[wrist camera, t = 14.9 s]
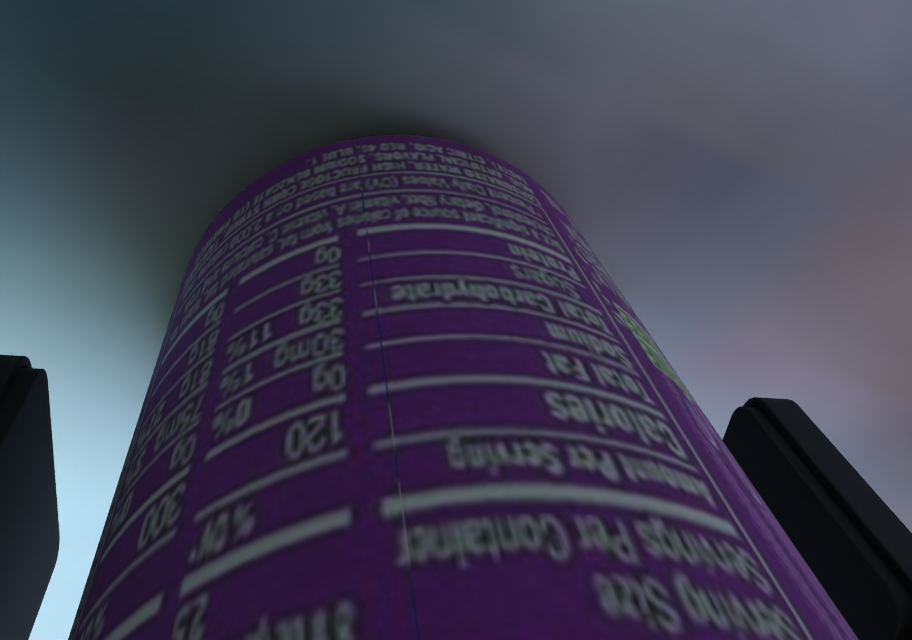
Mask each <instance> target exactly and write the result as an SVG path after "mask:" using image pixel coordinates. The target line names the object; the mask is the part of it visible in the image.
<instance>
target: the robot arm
mask: <svg viewBox="0 0 912 640" xmlns="http://www.w3.org/2000/svg"><path fill="white" fill-rule="evenodd" d="M722 441H723V442H724V444H725V445H726V447H727V448H728V449H729V451H730V452H731V454H732V455H733V457H734V458H735V460H736V461H737V463H738V464H739V466H740V467H741V468H742V470H743V471H744V473H745V474H746V476H747V477H748V479H749V480H750V482H751V483H752V484H753V486H754V487H755V489H756V490H757V492H758V493H759V495H760V496H761V498H762V499H763V501H764V502H765V503H766V505H767V506H768V508H769V509H770V511H771V512H772V514H773V515H774V517H775V518H776V519H777V521H778V522H779V524H780V525H781V527H782V528H783V530H784V531H785V533H786V534H787V535H788V537H789V538H790V540H791V541H792V543H793V544H794V546H795V547H796V549H797V550H798V552H799V553H800V554H801V556H802V557H803V559H804V560H805V562H806V563H807V565H808V566H809V568H810V569H811V570H812V572H813V573H814V575H815V576H816V578H817V579H818V581H819V582H820V584H821V585H822V586H823V588H824V589H825V591H826V592H827V594H828V595H829V597H830V598H831V600H832V601H833V603H834V604H835V605H836V607H837V608H838V610H839V611H840V613H841V614H842V616H843V617H844V619H845V620H846V621H847V623H848V624H849V626H850V627H851V629H852V630H853V632H854V633H855V635H856V636H857V637H858V639H859V640H912V533H911V532H910V531H909V530H908V529H907V528H906V527H905V525H904V524H903V523H902V522H901V521H900V520H899V519H898V517H897V516H896V515H895V514H894V513H893V512H892V511H891V510H890V508H889V507H888V506H887V505H886V504H885V503H884V502H883V501H882V499H881V498H880V497H879V496H878V495H877V494H876V493H875V492H874V490H873V489H872V488H871V487H870V486H869V485H868V484H867V482H866V481H865V480H864V479H863V478H862V477H861V476H860V475H859V473H858V472H857V471H856V470H855V469H854V468H853V467H852V466H851V464H850V463H849V462H848V461H847V460H846V459H845V458H844V457H843V455H842V454H841V453H840V452H839V451H838V450H837V449H836V447H835V446H834V445H833V444H832V443H831V442H830V441H829V440H828V438H827V437H826V436H825V435H824V434H823V433H822V432H821V431H820V429H819V428H818V427H817V426H816V425H815V424H814V423H813V422H812V420H811V419H810V418H809V417H808V416H807V415H806V414H805V412H804V411H803V410H802V409H801V408H800V407H799V406H798V405H797V404H796V403H795V402H794V401H792V400H788V399H773V398H756V397H754V398H751V399H749V400H748V401H747V402H746V403H745V404H744V406H743V407H738V408H737V409H736V410H735V411H734V413H733V414H732V417H731V419H730V422H729V425H728V427H727V430H726V433H725V435H724V438H723V440H722ZM58 550H59V522H58V509H57V496H56V483H55V470H54V456H53V443H52V430H51V417H50V404H49V391H48V379H47V374H46V371H45V370H44V369H34V368H31V363H30V361H29V359H28V358H27V357H26V356H13V355H0V640H28V639H29V636H30V633H31V631H32V628H33V625H34V622H35V620H36V617H37V614H38V611H39V609H40V606H41V603H42V600H43V598H44V595H45V592H46V589H47V587H48V584H49V581H50V579H51V576H52V573H53V570H54V568H55V564H56V561H57V556H58Z"/></svg>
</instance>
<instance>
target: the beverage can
mask: <svg viewBox="0 0 912 640" xmlns="http://www.w3.org/2000/svg"><path fill="white" fill-rule="evenodd" d="M68 640H859V639H858V637H857V636H856V635H855V633H854V632H853V630H852V629H851V627H850V626H849V624H848V623H847V621H846V620H845V619H844V617H843V616H842V614H841V613H840V611H839V610H838V608H837V607H836V605H835V604H834V603H833V601H832V600H831V598H830V597H829V595H828V594H827V592H826V591H825V589H824V588H823V586H822V585H821V584H820V582H819V581H818V579H817V578H816V576H815V575H814V573H813V572H812V570H811V569H810V568H809V566H808V565H807V563H806V562H805V560H804V559H803V557H802V556H801V554H800V553H799V552H798V550H797V549H796V547H795V546H794V544H793V543H792V541H791V540H790V538H789V537H788V535H787V534H786V533H785V531H784V530H783V528H782V527H781V525H780V524H779V522H778V521H777V519H776V518H775V517H774V515H773V514H772V512H771V511H770V509H769V508H768V506H767V505H766V503H765V502H764V501H763V499H762V498H761V496H760V495H759V493H758V492H757V490H756V489H755V487H754V486H753V484H752V483H751V482H750V480H749V479H748V477H747V476H746V474H745V473H744V471H743V470H742V468H741V467H740V466H739V464H738V463H737V461H736V460H735V458H734V457H733V455H732V454H731V452H730V451H729V449H728V448H727V447H726V445H725V444H724V442H723V441H722V439H721V438H720V436H719V435H718V433H717V432H716V431H715V429H714V428H713V426H712V425H711V423H710V422H709V420H708V419H707V417H706V416H705V415H704V413H703V412H702V410H701V409H700V407H699V406H698V404H697V403H696V401H695V400H694V398H693V397H692V396H691V394H690V393H689V391H688V390H687V388H686V387H685V385H684V384H683V382H682V381H681V380H680V378H679V377H678V375H677V374H676V372H675V371H674V369H673V368H672V366H671V365H670V364H669V362H668V361H667V359H666V358H665V356H664V355H663V353H662V352H661V350H660V349H659V347H658V346H657V345H656V343H655V342H654V340H653V339H652V337H651V336H650V334H649V333H648V331H647V330H646V329H645V327H644V326H643V324H642V323H641V321H640V320H639V318H638V317H637V315H636V314H635V313H634V311H633V310H632V308H631V307H630V305H629V304H628V302H627V301H626V299H625V298H624V296H623V295H622V294H621V292H620V291H619V289H618V288H617V286H616V285H615V283H614V282H613V280H612V279H611V278H610V276H609V275H608V273H607V272H606V270H605V269H604V267H603V266H602V264H601V263H600V261H599V260H598V259H597V257H596V256H595V254H594V253H593V251H592V250H591V248H590V247H589V245H588V244H587V243H586V241H585V240H584V238H583V237H582V235H581V234H580V232H579V231H578V229H577V228H576V227H575V225H574V224H573V222H572V221H571V219H570V218H569V217H568V215H567V214H566V213H565V211H564V210H563V209H562V207H561V206H560V205H559V204H558V203H557V202H556V201H555V200H554V198H553V197H552V196H551V195H550V194H549V193H548V192H546V191H545V190H544V189H543V188H542V187H541V186H540V185H539V184H538V183H536V182H535V181H534V180H532V179H531V178H530V177H529V176H527V175H526V174H524V173H523V172H521V171H520V170H518V169H517V168H515V167H514V166H512V165H510V164H508V163H507V162H505V161H503V160H501V159H499V158H497V157H495V156H493V155H491V154H488V153H486V152H484V151H481V150H478V149H476V148H473V147H470V146H467V145H464V144H460V143H456V142H452V141H449V140H443V139H438V138H432V137H424V136H414V135H381V136H369V137H362V138H355V139H350V140H345V141H340V142H336V143H333V144H329V145H326V146H322V147H319V148H316V149H314V150H311V151H308V152H306V153H303V154H301V155H299V156H296V157H294V158H292V159H290V160H288V161H286V162H284V163H282V164H280V165H279V166H277V167H275V168H273V169H272V170H270V171H268V172H267V173H265V174H264V175H262V176H261V177H260V178H258V179H257V180H255V181H254V182H252V183H251V184H250V185H249V186H248V187H246V188H245V189H244V190H243V191H241V192H240V193H239V194H238V195H237V196H236V197H235V198H234V199H233V200H232V201H231V202H230V203H229V204H228V205H227V206H226V207H225V208H224V209H223V210H222V211H221V212H220V214H219V215H218V216H217V217H216V218H215V220H214V221H213V222H212V224H211V225H210V226H209V228H208V229H207V231H206V232H205V233H204V235H203V237H202V238H201V240H200V242H199V243H198V245H197V247H196V249H195V251H194V253H193V255H192V257H191V259H190V261H189V264H188V266H187V269H186V272H185V274H184V277H183V280H182V283H181V287H180V290H179V293H178V296H177V299H176V302H175V305H174V309H173V312H172V315H171V318H170V321H169V324H168V327H167V331H166V334H165V337H164V340H163V343H162V346H161V350H160V353H159V356H158V359H157V362H156V365H155V368H154V372H153V375H152V378H151V381H150V384H149V387H148V390H147V394H146V397H145V400H144V403H143V406H142V409H141V412H140V416H139V419H138V422H137V425H136V428H135V431H134V434H133V438H132V441H131V444H130V447H129V450H128V453H127V456H126V460H125V463H124V466H123V469H122V472H121V475H120V478H119V482H118V485H117V488H116V491H115V494H114V497H113V500H112V504H111V507H110V510H109V513H108V516H107V519H106V522H105V526H104V529H103V532H102V535H101V538H100V541H99V544H98V548H97V551H96V554H95V557H94V560H93V563H92V566H91V570H90V573H89V576H88V579H87V582H86V585H85V588H84V592H83V595H82V598H81V601H80V604H79V607H78V610H77V614H76V617H75V620H74V623H73V626H72V629H71V632H70V636H69V639H68Z"/></svg>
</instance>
